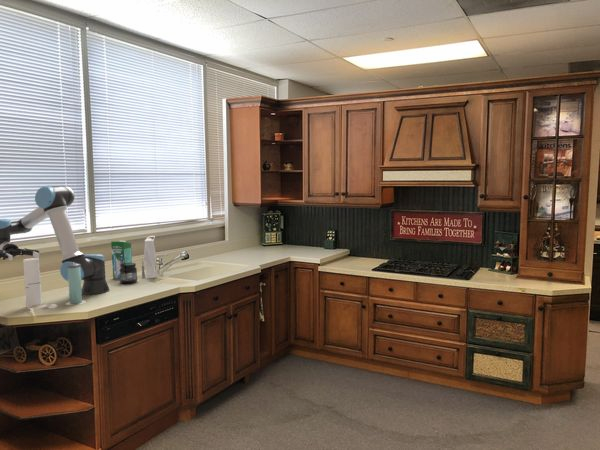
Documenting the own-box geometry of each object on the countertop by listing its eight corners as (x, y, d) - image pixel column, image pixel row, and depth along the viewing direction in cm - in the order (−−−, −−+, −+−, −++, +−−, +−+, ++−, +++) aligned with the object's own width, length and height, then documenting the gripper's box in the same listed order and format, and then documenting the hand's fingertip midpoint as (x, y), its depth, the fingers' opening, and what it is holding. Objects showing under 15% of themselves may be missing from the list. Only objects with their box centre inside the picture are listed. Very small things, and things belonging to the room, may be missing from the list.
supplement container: (128, 280, 320) (127, 262, 319) (141, 281, 316) (140, 263, 315) (116, 283, 311) (115, 264, 309) (129, 284, 306) (128, 265, 305)
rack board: (84, 301, 265) (84, 298, 265) (88, 306, 255) (88, 303, 255) (35, 308, 253) (35, 305, 252) (37, 313, 243) (37, 310, 243)
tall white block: (38, 307, 254) (35, 260, 251) (24, 308, 253) (20, 260, 251) (44, 304, 261) (41, 257, 258) (30, 304, 260) (27, 258, 258)
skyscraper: (152, 276, 334) (150, 235, 331) (159, 277, 328) (157, 236, 326) (141, 278, 327) (139, 236, 324) (148, 279, 322) (146, 237, 319)
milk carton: (132, 276, 333) (130, 239, 330) (125, 278, 324) (123, 241, 322) (120, 275, 335) (119, 239, 332) (113, 278, 326) (111, 241, 324)
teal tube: (81, 300, 262) (79, 263, 260) (83, 302, 257) (81, 265, 255) (68, 302, 259) (66, 264, 257) (70, 304, 253) (67, 266, 251)
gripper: (32, 254, 284) (49, 261, 271) (-17, 258, 264) (-1, 266, 251) (33, 241, 283) (49, 248, 270) (-16, 244, 263) (-1, 252, 250)
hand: (25, 257), depth 260 cm, fingers open, 13 cm apart
